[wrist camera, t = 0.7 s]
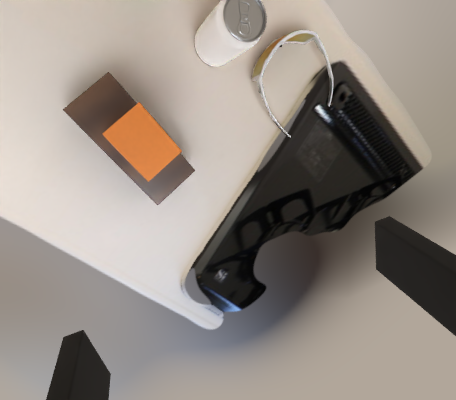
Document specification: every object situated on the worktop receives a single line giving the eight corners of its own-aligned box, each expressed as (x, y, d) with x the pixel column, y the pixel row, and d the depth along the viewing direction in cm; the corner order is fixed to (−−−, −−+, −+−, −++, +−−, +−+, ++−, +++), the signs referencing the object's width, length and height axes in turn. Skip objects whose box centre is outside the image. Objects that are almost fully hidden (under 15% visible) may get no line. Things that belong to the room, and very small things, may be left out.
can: (193, 65, 48) (219, 42, 37) (193, 19, 46) (220, -19, 35) (233, 69, 50) (269, 48, 39) (233, 25, 49) (270, -9, 38)
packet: (103, 135, 38) (101, 134, 28) (131, 112, 39) (139, 101, 29) (138, 172, 41) (148, 181, 31) (163, 148, 41) (182, 151, 31)
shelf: (69, 114, 43) (62, 109, 36) (108, 81, 44) (108, 71, 37) (151, 197, 49) (157, 205, 42) (183, 166, 50) (195, 170, 43)
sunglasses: (299, 19, 52) (319, 11, 48) (328, 100, 59) (348, 99, 55) (234, 64, 49) (250, 60, 45) (273, 143, 57) (290, 146, 52)
